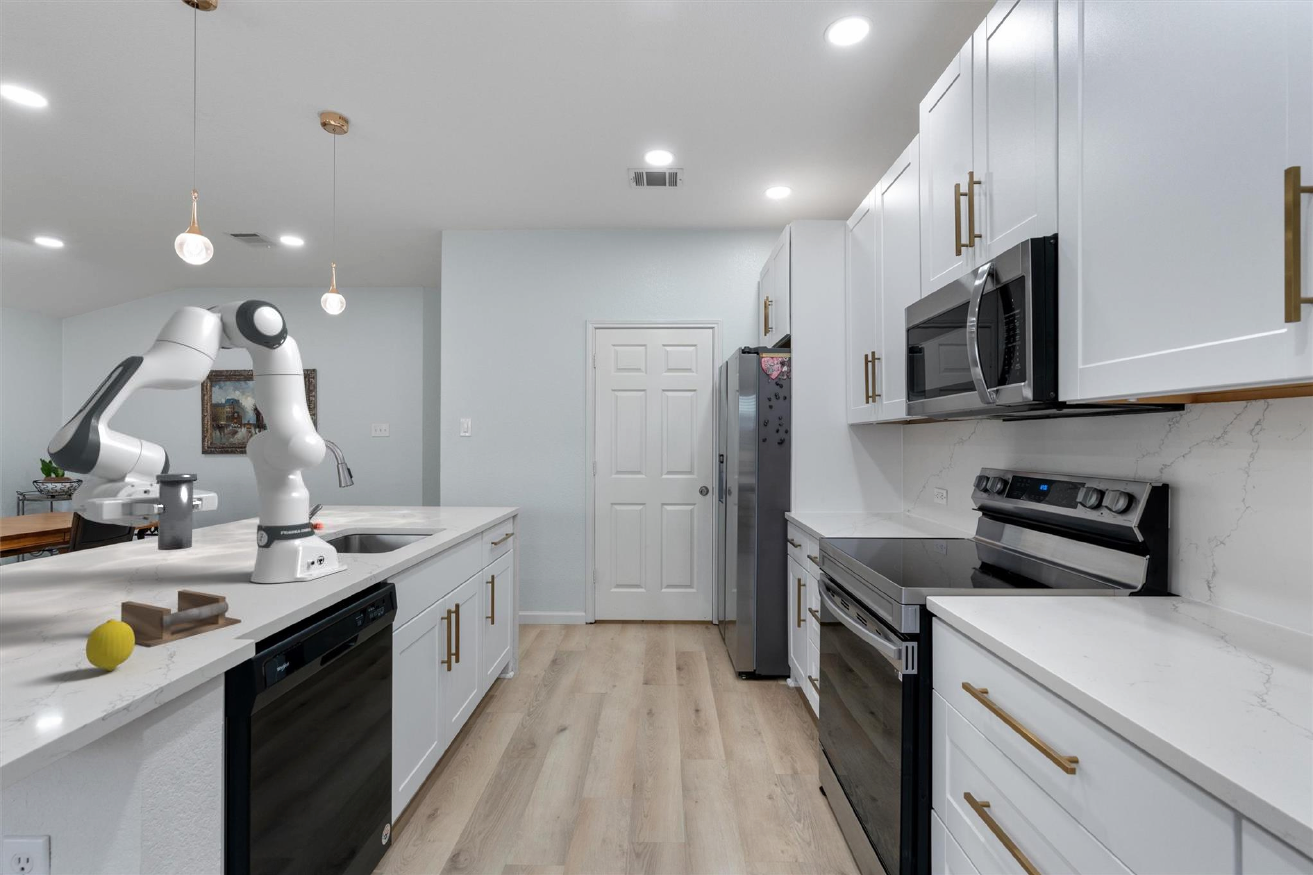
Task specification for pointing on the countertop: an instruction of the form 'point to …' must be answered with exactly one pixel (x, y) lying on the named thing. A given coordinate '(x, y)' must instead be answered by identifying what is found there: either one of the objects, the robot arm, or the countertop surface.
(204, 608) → the brown wooden holder
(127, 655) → the lemon
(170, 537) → the hinge pin
